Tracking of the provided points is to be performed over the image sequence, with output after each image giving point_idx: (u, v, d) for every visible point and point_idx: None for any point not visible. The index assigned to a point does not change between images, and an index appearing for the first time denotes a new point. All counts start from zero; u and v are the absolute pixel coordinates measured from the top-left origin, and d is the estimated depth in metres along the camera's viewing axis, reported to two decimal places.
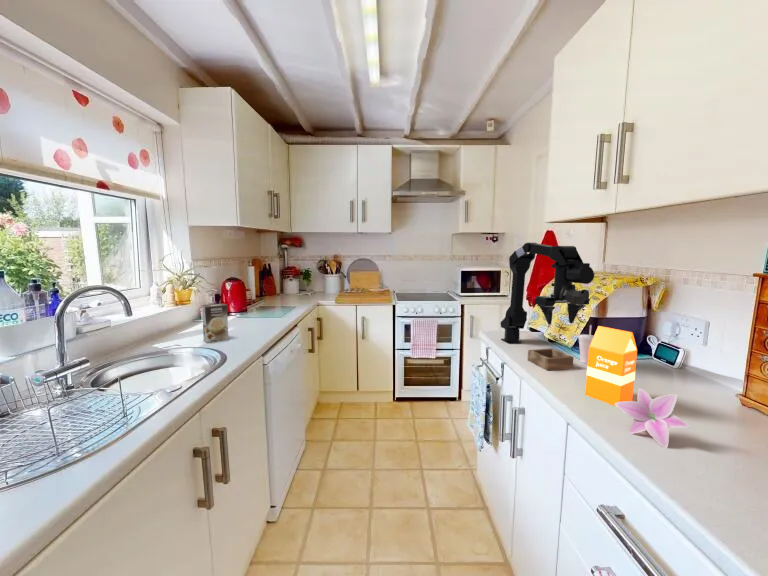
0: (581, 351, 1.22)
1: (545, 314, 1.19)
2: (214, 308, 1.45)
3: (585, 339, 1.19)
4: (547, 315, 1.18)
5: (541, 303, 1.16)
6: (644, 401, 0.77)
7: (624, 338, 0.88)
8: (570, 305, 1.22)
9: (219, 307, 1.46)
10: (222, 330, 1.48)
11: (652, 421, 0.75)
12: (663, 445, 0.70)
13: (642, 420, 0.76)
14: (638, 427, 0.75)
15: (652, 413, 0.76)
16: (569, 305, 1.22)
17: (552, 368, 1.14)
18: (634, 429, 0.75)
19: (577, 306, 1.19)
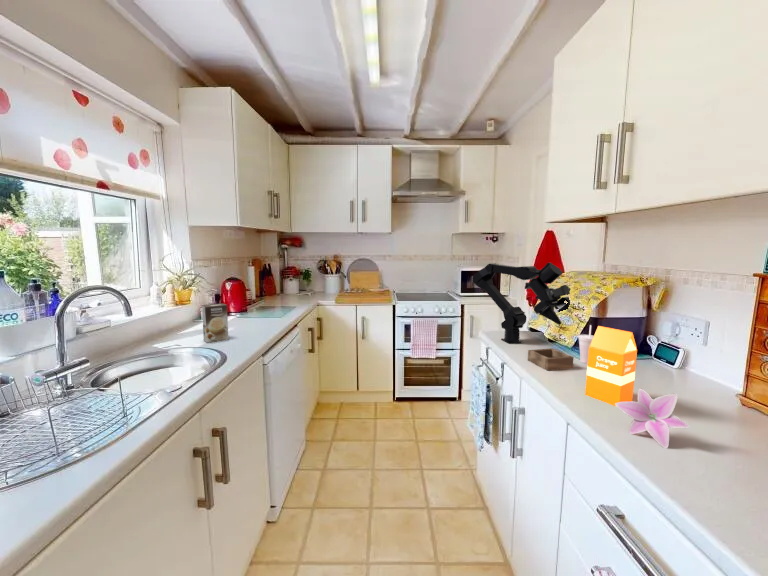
0: (581, 351, 1.22)
1: (551, 318, 1.27)
2: (214, 308, 1.45)
3: (585, 339, 1.19)
4: (553, 317, 1.26)
5: (542, 306, 1.26)
6: (644, 401, 0.77)
7: (624, 338, 0.88)
8: (560, 309, 1.34)
9: (219, 307, 1.46)
10: (222, 330, 1.48)
11: (652, 421, 0.75)
12: (663, 445, 0.70)
13: (642, 420, 0.75)
14: (639, 427, 0.75)
15: (652, 413, 0.76)
16: (560, 310, 1.35)
17: (552, 368, 1.14)
18: (635, 429, 0.75)
19: (566, 304, 1.32)
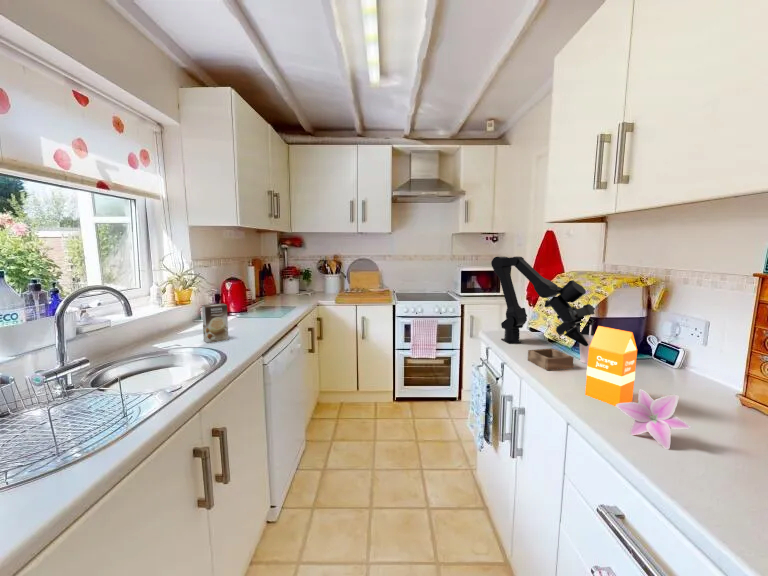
0: (581, 351, 1.22)
1: (576, 339, 1.21)
2: (214, 308, 1.45)
3: (585, 339, 1.19)
4: (579, 338, 1.20)
5: (565, 327, 1.19)
6: (645, 402, 0.76)
7: (624, 338, 0.88)
8: None
9: (219, 307, 1.46)
10: (222, 330, 1.48)
11: (653, 422, 0.74)
12: (665, 447, 0.70)
13: (643, 421, 0.75)
14: (640, 428, 0.75)
15: (653, 414, 0.75)
16: None
17: (552, 368, 1.14)
18: (636, 430, 0.75)
19: (588, 325, 1.25)
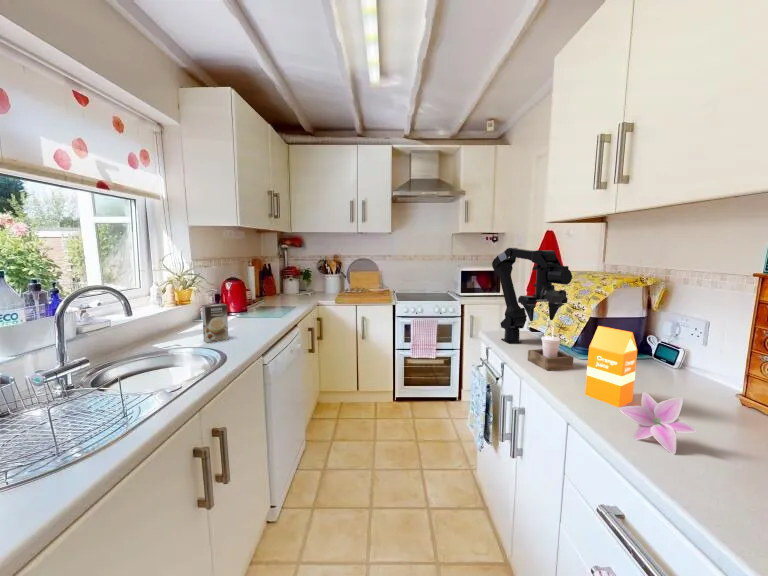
0: (543, 352, 1.21)
1: (527, 312, 1.32)
2: (214, 308, 1.45)
3: (543, 340, 1.18)
4: (529, 313, 1.31)
5: (523, 302, 1.28)
6: (649, 405, 0.75)
7: (624, 338, 0.88)
8: (550, 303, 1.34)
9: (219, 307, 1.46)
10: (222, 330, 1.48)
11: (657, 426, 0.73)
12: (671, 451, 0.68)
13: (647, 425, 0.73)
14: (644, 432, 0.73)
15: (657, 418, 0.74)
16: (550, 304, 1.35)
17: (552, 368, 1.14)
18: (640, 434, 0.73)
19: (556, 305, 1.31)
